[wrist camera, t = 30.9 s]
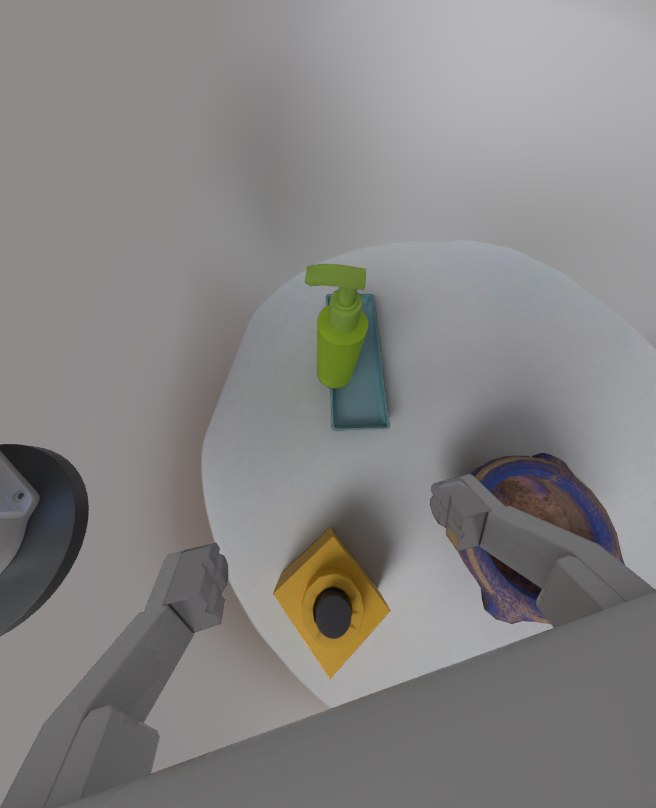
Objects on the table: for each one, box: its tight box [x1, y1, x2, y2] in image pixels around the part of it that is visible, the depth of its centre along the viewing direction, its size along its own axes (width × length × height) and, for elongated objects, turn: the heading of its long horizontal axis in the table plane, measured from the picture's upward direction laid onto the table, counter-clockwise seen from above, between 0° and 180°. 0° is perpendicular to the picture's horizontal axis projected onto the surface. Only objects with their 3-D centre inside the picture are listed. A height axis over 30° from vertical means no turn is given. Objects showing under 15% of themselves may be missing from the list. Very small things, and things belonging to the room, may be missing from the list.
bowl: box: [458, 453, 625, 624], centre depth 32 cm, size 18×18×10 cm
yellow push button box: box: [273, 528, 390, 679], centre depth 30 cm, size 10×9×8 cm
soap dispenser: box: [305, 264, 368, 388], centre depth 31 cm, size 6×7×20 cm
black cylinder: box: [316, 589, 351, 639], centre depth 26 cm, size 4×4×2 cm
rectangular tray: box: [326, 294, 390, 431], centre depth 43 cm, size 26×9×2 cm, turn 2°
